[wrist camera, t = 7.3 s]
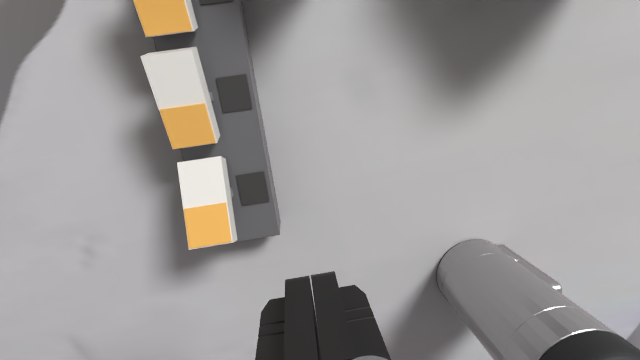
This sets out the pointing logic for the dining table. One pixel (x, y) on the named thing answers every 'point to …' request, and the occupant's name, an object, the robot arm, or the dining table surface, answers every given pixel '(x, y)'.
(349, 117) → the dining table surface
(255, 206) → the power strip
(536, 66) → the dining table surface
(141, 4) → the block
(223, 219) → the block
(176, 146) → the block
